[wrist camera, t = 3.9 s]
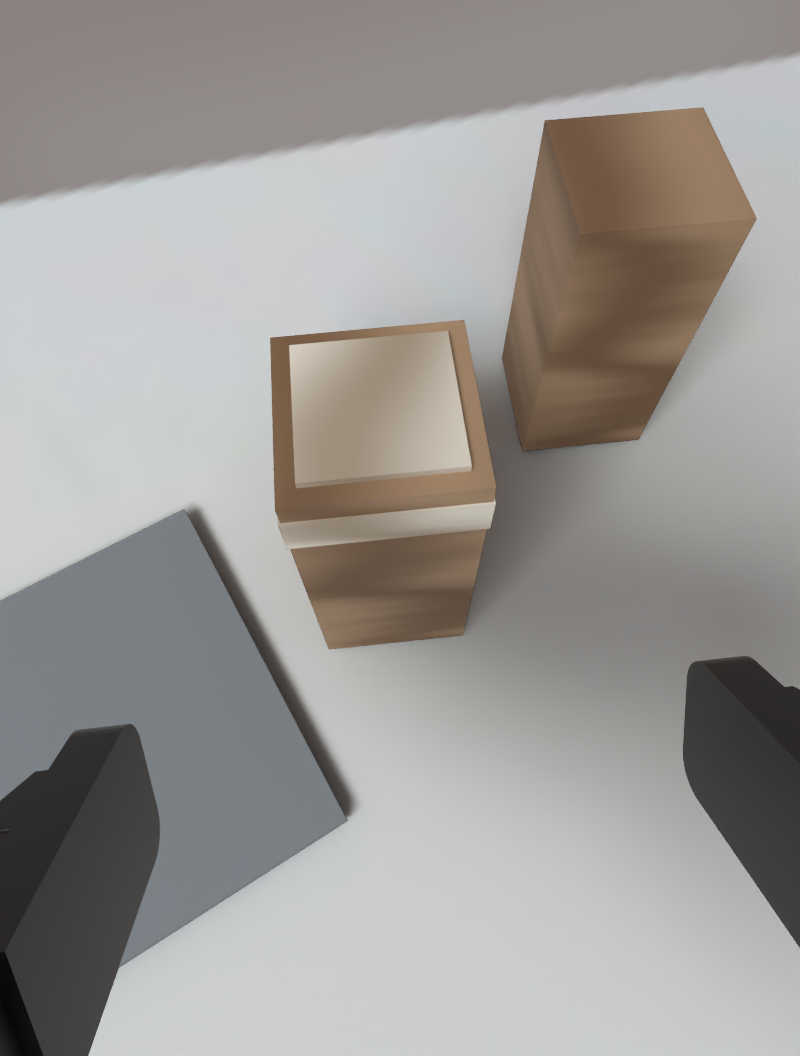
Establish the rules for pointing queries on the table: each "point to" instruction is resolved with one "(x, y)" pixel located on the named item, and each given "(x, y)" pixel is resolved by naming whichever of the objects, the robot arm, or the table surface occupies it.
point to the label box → (382, 478)
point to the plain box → (616, 270)
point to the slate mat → (165, 714)
